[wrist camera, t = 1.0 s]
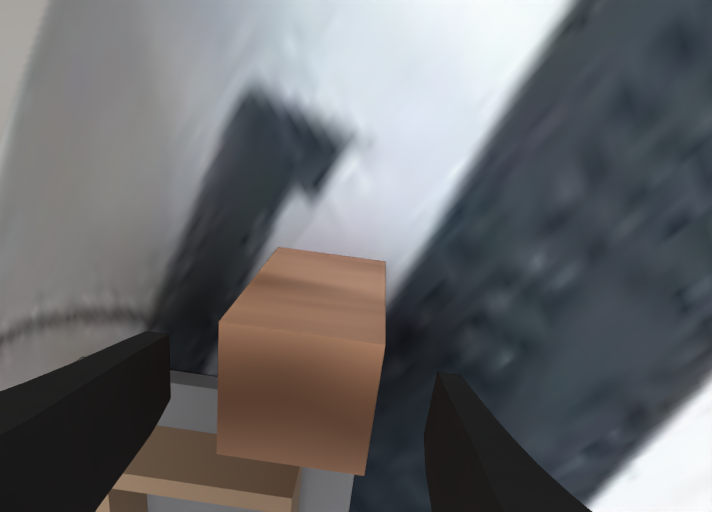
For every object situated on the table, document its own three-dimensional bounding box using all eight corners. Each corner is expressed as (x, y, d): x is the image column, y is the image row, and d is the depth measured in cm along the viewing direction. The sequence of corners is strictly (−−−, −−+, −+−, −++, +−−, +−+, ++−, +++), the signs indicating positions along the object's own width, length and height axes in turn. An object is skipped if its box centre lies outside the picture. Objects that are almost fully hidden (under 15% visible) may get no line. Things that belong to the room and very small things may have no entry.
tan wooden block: (371, 355, 17) (364, 476, 11) (272, 341, 17) (216, 453, 11) (385, 261, 16) (385, 344, 10) (278, 246, 16) (219, 321, 10)
